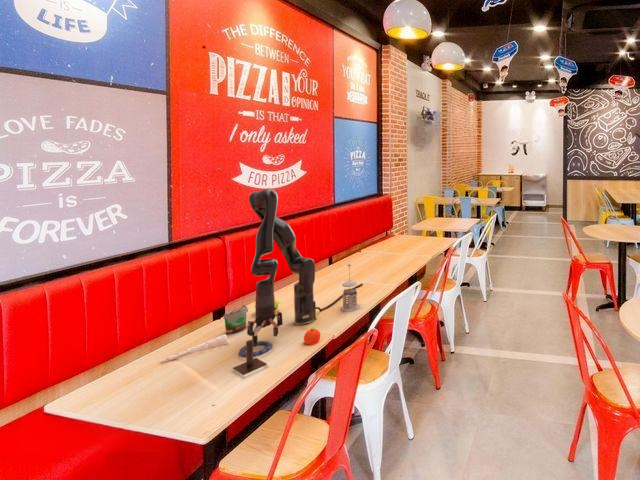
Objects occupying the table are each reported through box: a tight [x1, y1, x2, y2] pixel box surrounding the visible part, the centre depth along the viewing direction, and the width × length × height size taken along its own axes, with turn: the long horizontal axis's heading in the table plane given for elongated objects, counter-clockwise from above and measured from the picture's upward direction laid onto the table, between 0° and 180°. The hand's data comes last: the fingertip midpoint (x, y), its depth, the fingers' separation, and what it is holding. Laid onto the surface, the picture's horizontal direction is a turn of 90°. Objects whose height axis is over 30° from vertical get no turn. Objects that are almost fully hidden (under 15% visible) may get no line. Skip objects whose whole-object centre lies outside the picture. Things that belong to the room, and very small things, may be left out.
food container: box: [222, 304, 249, 335], centre depth 191 cm, size 12×6×10 cm, turn 168°
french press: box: [340, 263, 360, 312], centre depth 215 cm, size 10×12×25 cm
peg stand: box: [232, 339, 268, 376], centre depth 154 cm, size 9×9×12 cm
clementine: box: [303, 327, 321, 345], centre depth 175 cm, size 8×7×7 cm
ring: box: [238, 340, 273, 359], centre depth 168 cm, size 13×13×3 cm
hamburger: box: [274, 296, 281, 313], centre depth 212 cm, size 12×12×9 cm
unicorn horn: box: [159, 334, 228, 363], centre depth 168 cm, size 5×24×5 cm, turn 127°
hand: (265, 339), depth 172 cm, fingers open, 8 cm apart
